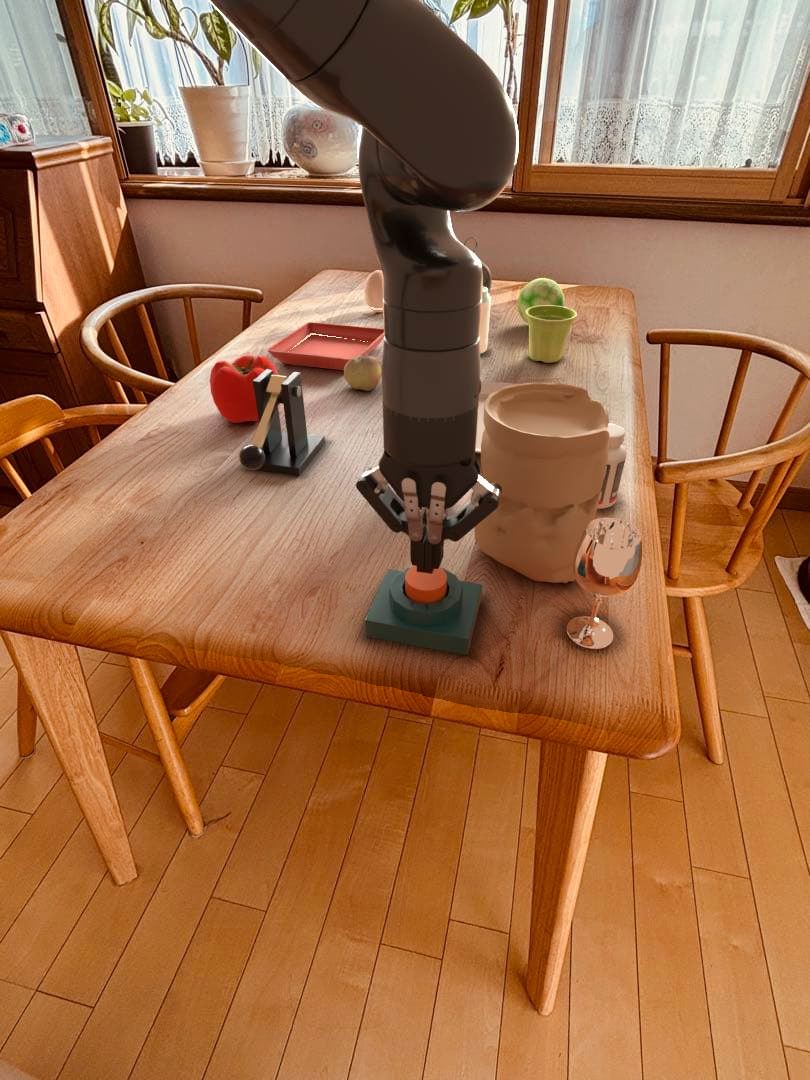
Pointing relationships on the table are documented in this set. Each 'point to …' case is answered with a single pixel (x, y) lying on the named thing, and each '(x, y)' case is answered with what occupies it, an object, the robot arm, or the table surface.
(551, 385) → the container
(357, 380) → the apple
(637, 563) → the wineglass
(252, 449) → the switch lever
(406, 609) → the switch box
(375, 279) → the egg
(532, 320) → the plant pot
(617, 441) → the pill bottle
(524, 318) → the decorative ball
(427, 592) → the button
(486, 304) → the can
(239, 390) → the tomato
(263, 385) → the switch bracket
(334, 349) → the plant saucer
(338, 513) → the table surface
